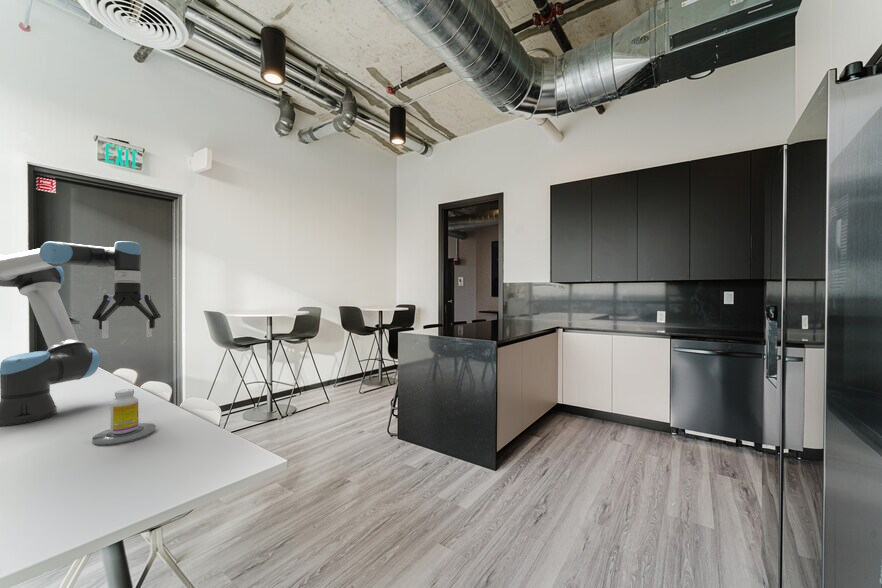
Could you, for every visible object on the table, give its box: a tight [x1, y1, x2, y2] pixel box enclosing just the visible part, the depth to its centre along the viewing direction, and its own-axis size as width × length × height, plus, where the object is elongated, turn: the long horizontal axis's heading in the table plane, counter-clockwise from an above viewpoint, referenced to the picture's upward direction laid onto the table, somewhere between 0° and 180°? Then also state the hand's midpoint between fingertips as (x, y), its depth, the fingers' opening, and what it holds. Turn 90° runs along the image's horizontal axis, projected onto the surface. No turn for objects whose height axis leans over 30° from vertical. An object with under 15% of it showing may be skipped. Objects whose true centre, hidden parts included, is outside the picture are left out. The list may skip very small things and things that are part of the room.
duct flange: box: [91, 422, 157, 447], centre depth 112 cm, size 15×15×1 cm
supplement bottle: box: [109, 388, 139, 434], centre depth 112 cm, size 7×7×13 cm
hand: (127, 337), depth 135 cm, fingers open, 13 cm apart
